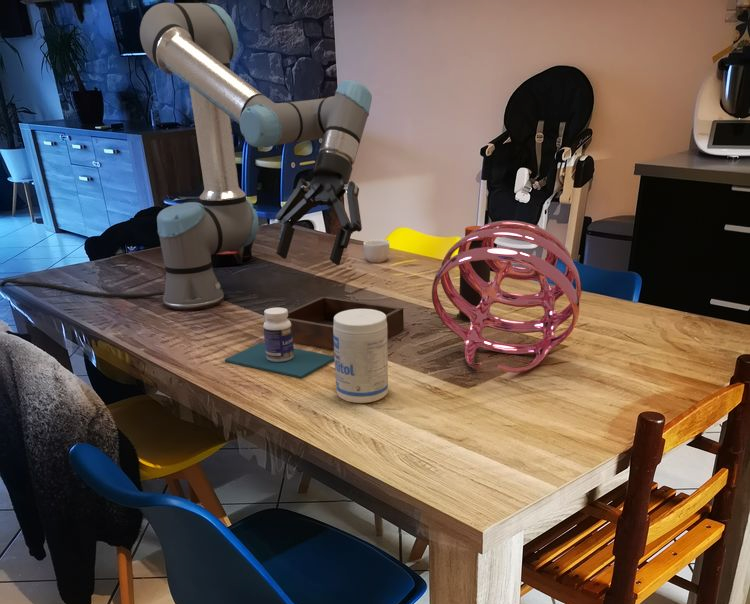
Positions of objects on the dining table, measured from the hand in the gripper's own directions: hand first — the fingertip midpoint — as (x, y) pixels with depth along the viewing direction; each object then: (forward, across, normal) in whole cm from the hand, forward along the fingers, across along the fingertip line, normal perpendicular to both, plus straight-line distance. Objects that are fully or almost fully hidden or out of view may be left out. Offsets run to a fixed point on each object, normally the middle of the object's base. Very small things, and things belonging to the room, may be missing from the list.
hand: (307, 259), depth 154 cm
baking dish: (-14, +68, -50) cm, 85 cm away
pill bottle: (+21, 0, 0) cm, 21 cm away
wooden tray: (+10, -2, -16) cm, 19 cm away
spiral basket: (+10, -42, -17) cm, 46 cm away
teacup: (-25, +27, -66) cm, 76 cm away
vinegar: (-3, -24, -35) cm, 43 cm away
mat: (+22, 0, 0) cm, 22 cm away
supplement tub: (+26, -25, +5) cm, 37 cm away
